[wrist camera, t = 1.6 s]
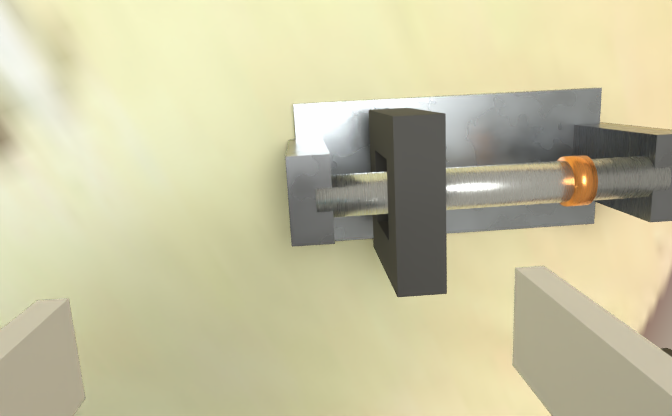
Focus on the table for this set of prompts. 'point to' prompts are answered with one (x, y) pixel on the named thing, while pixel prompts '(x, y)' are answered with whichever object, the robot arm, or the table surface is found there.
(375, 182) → the pipe rig
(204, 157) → the table surface
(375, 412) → the table surface
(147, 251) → the table surface
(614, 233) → the table surface
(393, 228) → the ring
